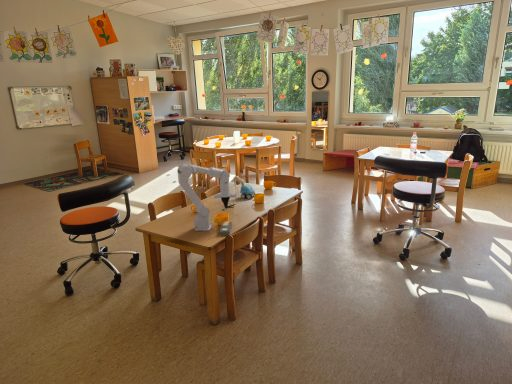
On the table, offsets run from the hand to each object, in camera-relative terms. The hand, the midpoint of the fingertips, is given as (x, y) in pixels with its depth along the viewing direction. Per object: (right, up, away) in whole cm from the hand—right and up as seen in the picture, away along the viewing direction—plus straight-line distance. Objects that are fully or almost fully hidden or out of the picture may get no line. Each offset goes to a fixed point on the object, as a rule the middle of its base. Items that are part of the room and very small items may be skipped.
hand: (226, 208), depth 226 cm
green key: (0, -15, -14) cm, 20 cm away
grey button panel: (+1, -13, -8) cm, 16 cm away
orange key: (+1, -11, -3) cm, 12 cm away
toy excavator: (+11, +6, +54) cm, 56 cm away
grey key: (+1, -12, -9) cm, 15 cm away
